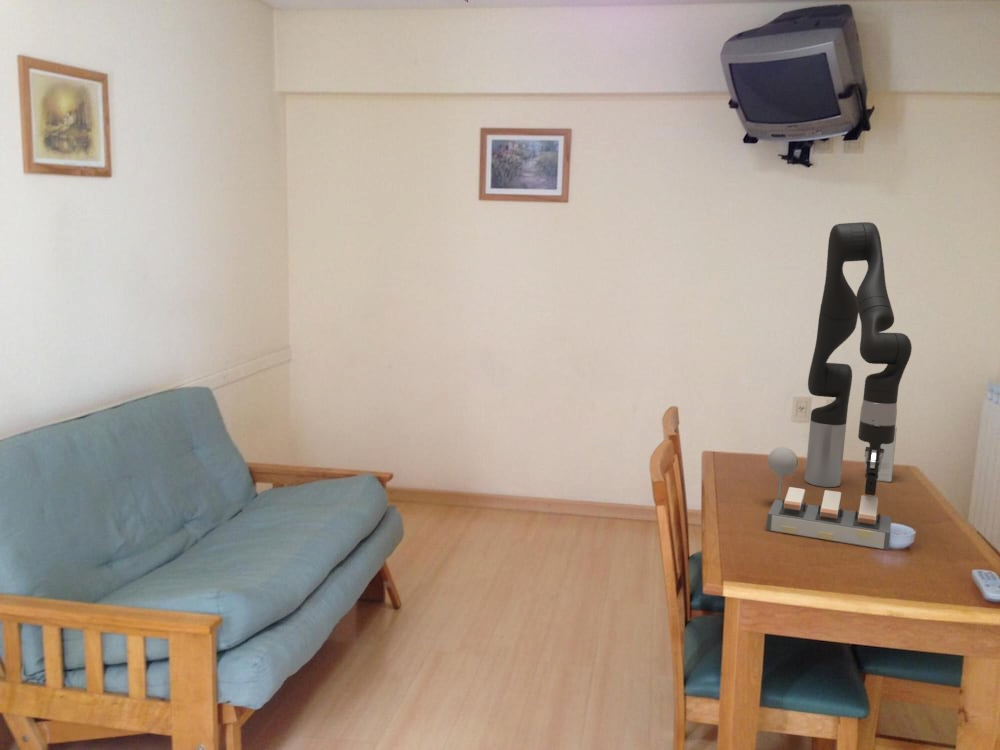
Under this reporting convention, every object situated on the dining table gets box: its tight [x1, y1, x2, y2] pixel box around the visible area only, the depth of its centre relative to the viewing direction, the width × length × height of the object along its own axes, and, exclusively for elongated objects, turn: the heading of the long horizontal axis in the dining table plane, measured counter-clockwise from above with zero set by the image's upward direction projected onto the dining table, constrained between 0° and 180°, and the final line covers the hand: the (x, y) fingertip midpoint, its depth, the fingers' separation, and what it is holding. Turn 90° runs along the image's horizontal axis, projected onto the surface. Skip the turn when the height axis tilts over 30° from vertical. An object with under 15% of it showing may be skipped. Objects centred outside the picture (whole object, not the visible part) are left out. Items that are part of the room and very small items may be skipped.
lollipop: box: [767, 446, 799, 501], centre depth 226 cm, size 7×7×15 cm
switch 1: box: [784, 486, 806, 510], centre depth 211 cm, size 9×4×1 cm, turn 155°
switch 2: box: [820, 489, 842, 519], centre depth 208 cm, size 9×4×1 cm, turn 155°
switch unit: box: [766, 498, 892, 551], centre depth 208 cm, size 12×26×6 cm, turn 66°
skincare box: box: [877, 422, 898, 483], centre depth 254 cm, size 8×7×16 cm
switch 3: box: [858, 494, 879, 524], centre depth 204 cm, size 9×4×1 cm, turn 155°
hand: (870, 494), depth 207 cm, fingers closed
